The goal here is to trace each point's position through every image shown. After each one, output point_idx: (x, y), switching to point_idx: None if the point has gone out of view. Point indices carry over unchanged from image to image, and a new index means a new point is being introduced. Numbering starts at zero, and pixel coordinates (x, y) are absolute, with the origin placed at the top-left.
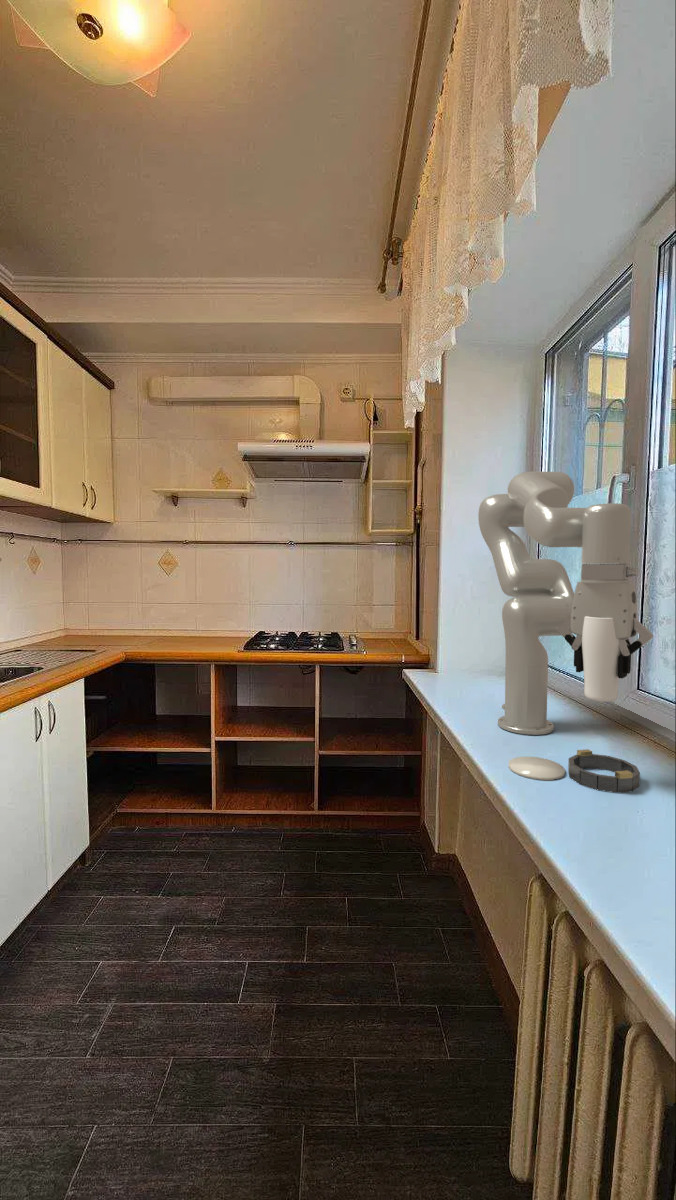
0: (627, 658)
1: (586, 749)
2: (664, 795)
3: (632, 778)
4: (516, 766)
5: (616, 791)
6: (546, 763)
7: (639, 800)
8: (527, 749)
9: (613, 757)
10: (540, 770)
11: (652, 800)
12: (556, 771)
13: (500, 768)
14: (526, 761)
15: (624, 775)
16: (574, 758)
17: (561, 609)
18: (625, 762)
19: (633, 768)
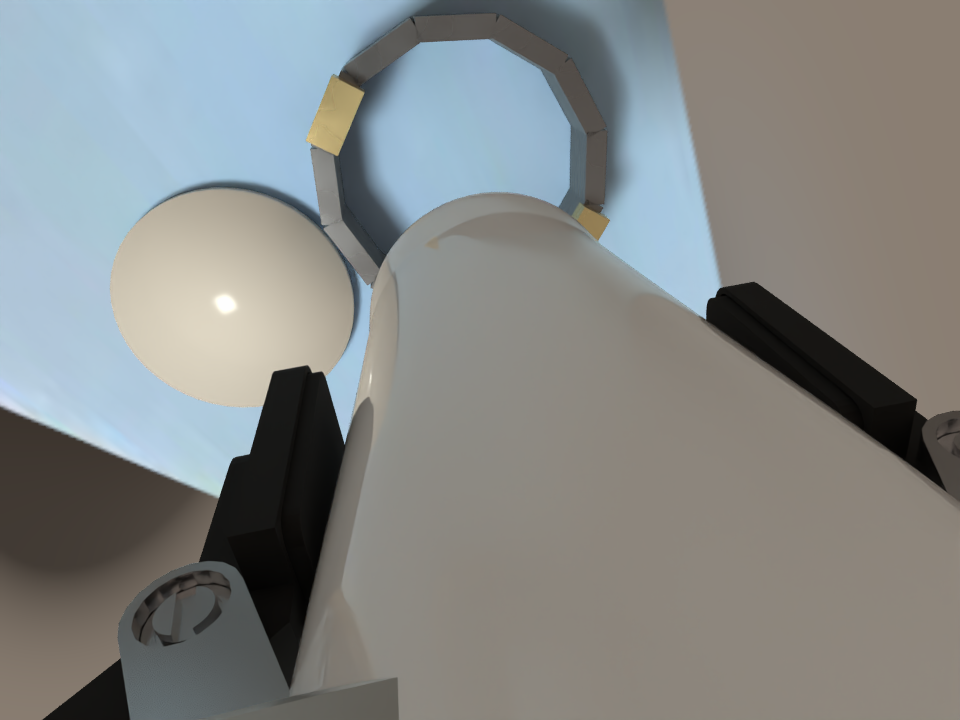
0: None
1: (328, 87)
2: (681, 124)
3: (601, 207)
4: (194, 372)
5: None
6: (235, 243)
7: (628, 246)
8: (4, 101)
9: (445, 21)
10: (276, 329)
11: (660, 209)
12: (319, 286)
13: (154, 403)
14: (170, 293)
15: None
16: (338, 204)
17: None
18: (515, 47)
19: (570, 97)
